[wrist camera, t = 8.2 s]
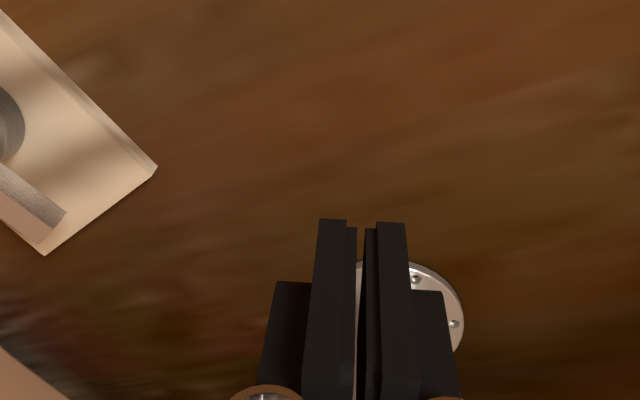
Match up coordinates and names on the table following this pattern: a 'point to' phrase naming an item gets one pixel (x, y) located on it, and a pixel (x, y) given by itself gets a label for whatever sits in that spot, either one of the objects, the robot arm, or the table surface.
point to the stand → (65, 139)
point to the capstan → (21, 181)
